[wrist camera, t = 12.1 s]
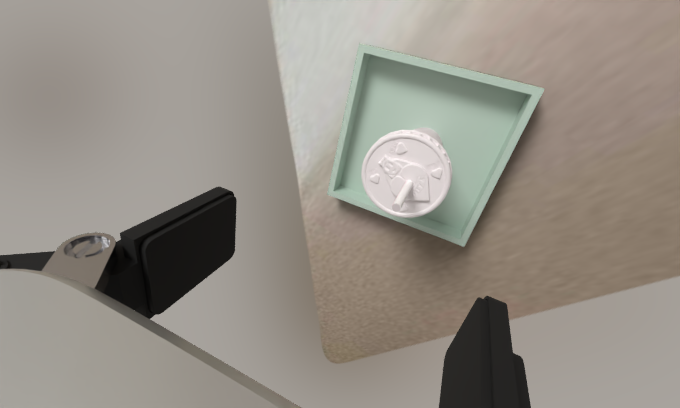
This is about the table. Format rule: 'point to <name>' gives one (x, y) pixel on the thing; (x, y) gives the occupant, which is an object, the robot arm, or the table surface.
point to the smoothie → (407, 172)
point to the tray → (439, 115)
